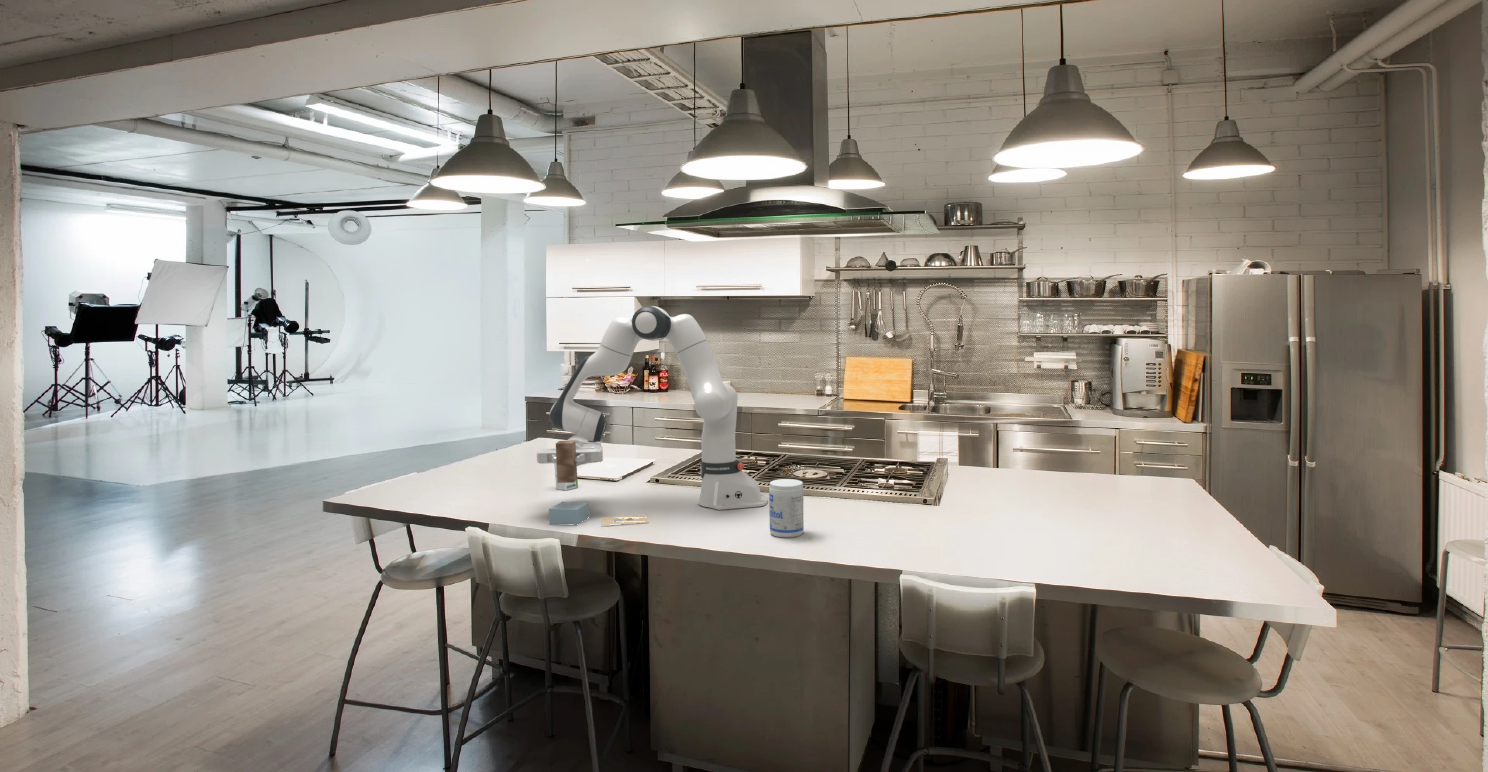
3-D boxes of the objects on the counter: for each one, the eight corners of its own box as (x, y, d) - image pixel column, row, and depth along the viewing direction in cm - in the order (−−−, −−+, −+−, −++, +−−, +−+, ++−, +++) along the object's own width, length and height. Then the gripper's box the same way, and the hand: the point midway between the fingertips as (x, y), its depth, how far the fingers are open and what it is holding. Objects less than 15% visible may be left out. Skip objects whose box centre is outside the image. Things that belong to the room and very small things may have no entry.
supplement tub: (762, 534, 223) (761, 483, 222) (783, 527, 230) (782, 477, 229) (790, 540, 217) (789, 487, 216) (811, 532, 224) (809, 481, 223)
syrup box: (566, 490, 286) (564, 450, 284) (555, 488, 289) (553, 449, 288) (578, 487, 290) (576, 448, 289) (567, 485, 294) (565, 447, 292)
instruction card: (646, 514, 249) (646, 513, 249) (648, 522, 239) (648, 522, 239) (600, 518, 246) (600, 517, 246) (601, 526, 236) (601, 525, 236)
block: (577, 478, 246) (575, 440, 244) (574, 482, 241) (572, 443, 240) (560, 479, 246) (559, 440, 244) (557, 482, 241) (555, 443, 239)
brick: (589, 518, 248) (588, 502, 247) (577, 526, 239) (576, 509, 238) (562, 517, 250) (561, 501, 249) (549, 525, 241) (548, 508, 240)
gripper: (541, 443, 255) (530, 451, 241) (605, 441, 255) (598, 449, 241) (542, 462, 255) (531, 471, 242) (606, 460, 256) (599, 469, 242)
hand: (565, 460), depth 242 cm, fingers closed on block, 5 cm apart
